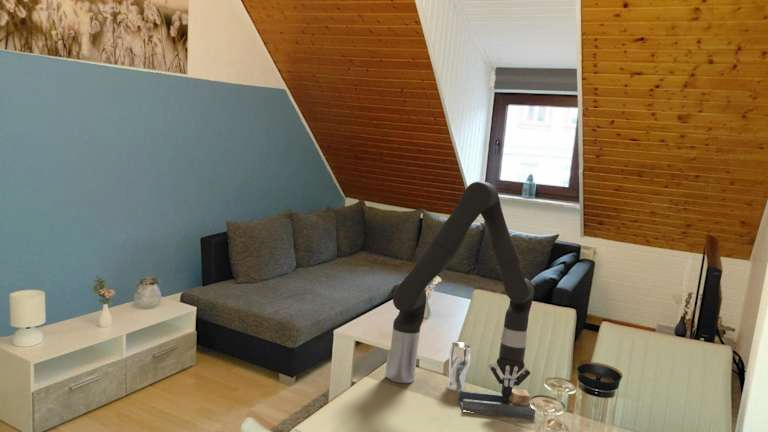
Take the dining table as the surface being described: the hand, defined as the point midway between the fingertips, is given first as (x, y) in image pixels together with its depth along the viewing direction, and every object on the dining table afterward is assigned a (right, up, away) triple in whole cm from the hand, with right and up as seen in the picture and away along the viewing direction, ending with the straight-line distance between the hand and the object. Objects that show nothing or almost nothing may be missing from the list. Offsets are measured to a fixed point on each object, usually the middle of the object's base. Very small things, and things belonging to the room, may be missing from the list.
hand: (505, 397), depth 169 cm
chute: (-3, -4, 0) cm, 5 cm away
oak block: (+4, -3, +1) cm, 5 cm away
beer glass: (-14, -2, +15) cm, 20 cm away
